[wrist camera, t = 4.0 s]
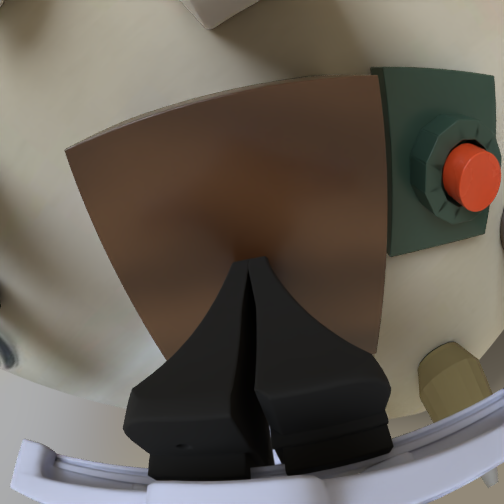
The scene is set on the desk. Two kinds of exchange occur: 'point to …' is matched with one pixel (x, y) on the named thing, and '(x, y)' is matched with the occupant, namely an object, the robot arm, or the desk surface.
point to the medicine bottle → (215, 10)
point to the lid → (247, 202)
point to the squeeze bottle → (453, 386)
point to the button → (471, 176)
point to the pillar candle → (502, 229)
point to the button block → (431, 151)
